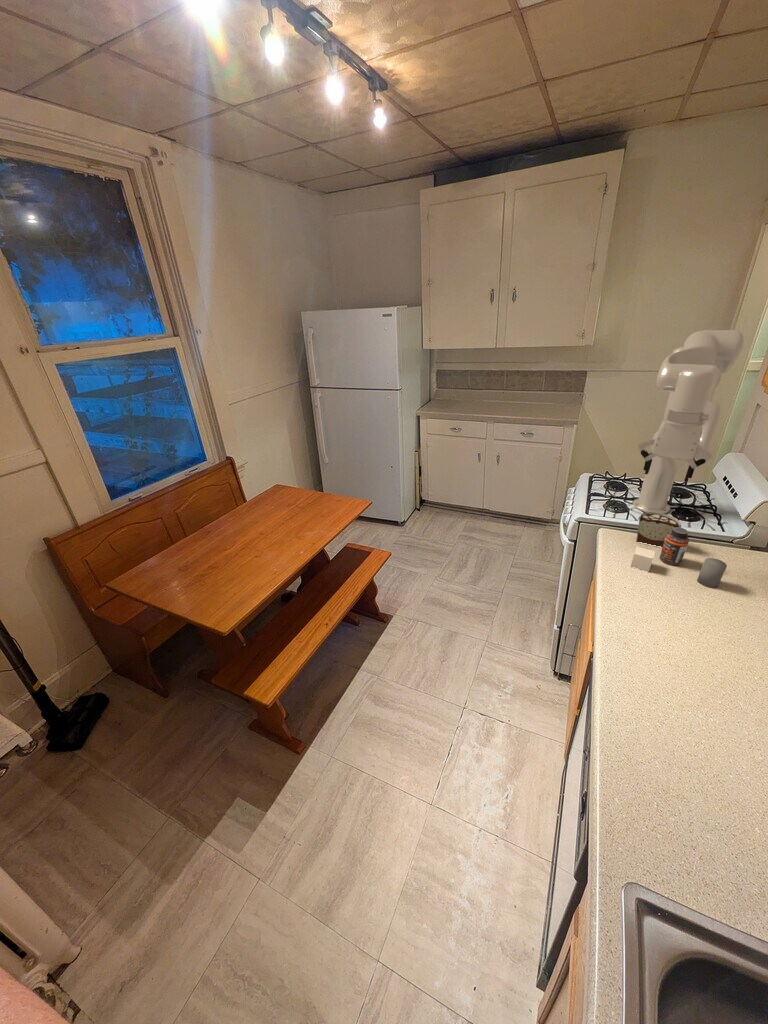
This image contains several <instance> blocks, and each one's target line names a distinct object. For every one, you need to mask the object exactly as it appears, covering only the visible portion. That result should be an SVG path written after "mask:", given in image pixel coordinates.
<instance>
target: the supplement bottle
mask: <svg viewBox="0 0 768 1024" xmlns="http://www.w3.org/2000/svg"><path fill="white" fill-rule="evenodd" d="M688 535H689V531H688V530H687V529H685V528H684V527H681V528H680V527H675V528H673V530H672V532H671V533H669V534H667V536H666V539H665V542H664V544H663V547H662V548H661V550H660V553H659V557H658V558H659V559H660V561H661V562H663V563H664V564H666V565H671V566H678V565H680V564H682V561H683V559H684V557H685V554H686V551H687V548H688V546H689V543H690V538H689V537H688Z"/></svg>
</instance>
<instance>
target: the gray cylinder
mask: <svg viewBox="0 0 768 1024" xmlns="http://www.w3.org/2000/svg"><path fill="white" fill-rule="evenodd" d="M726 569H727V563H726V562H724V561H722V560H720V559H718V558H713V557H709V558H708V557H707V558H705V559H704V561H703V564H702V567H701V569H700V571H699V574H698V577H697V579H696V581H697V583H699V584H700V585H701V586H702V587H703V586H704V587H706V588H708V589H709V588H710V589H715V588H718V587H719V585H720V582H721V581H722V578H723V576H724V573H725V572H726Z"/></svg>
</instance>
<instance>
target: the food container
mask: <svg viewBox="0 0 768 1024" xmlns="http://www.w3.org/2000/svg"><path fill="white" fill-rule="evenodd" d="M636 521H637V522H638V528H637V534H636V535H637V536H636V541H635V543H636V542H642V543H647V544H651V545H656V546H661V547H663V544H664V542H665V539H666V536H667V534H669V533H671V532H672V530H673V528H675V527H680V528H682V525H681V521H680V520H679V519H677V518H676V517H674V516H671V515H669V514H667V513H664V514H662V513H656V512H644V513H642V514H640V515H639V516H638V518H637V520H636Z"/></svg>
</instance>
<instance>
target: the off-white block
mask: <svg viewBox="0 0 768 1024" xmlns="http://www.w3.org/2000/svg"><path fill="white" fill-rule="evenodd" d="M655 553H656V551H654V550H652V549H648V548H643V547H642V546H641V547H640V546H636V547H635V551H634V553H633V556H632V561H631V562H630V566H631V567H630V568H632V567H635V568H634V569H636V568H638V569H637V570H639V569H641V570H640V571H643V570H644V571H643V572H646V571H647V572H648V573H649V572H650V569H651V566H652V563H653V560H654V557H655ZM647 572H646V573H647Z"/></svg>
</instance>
